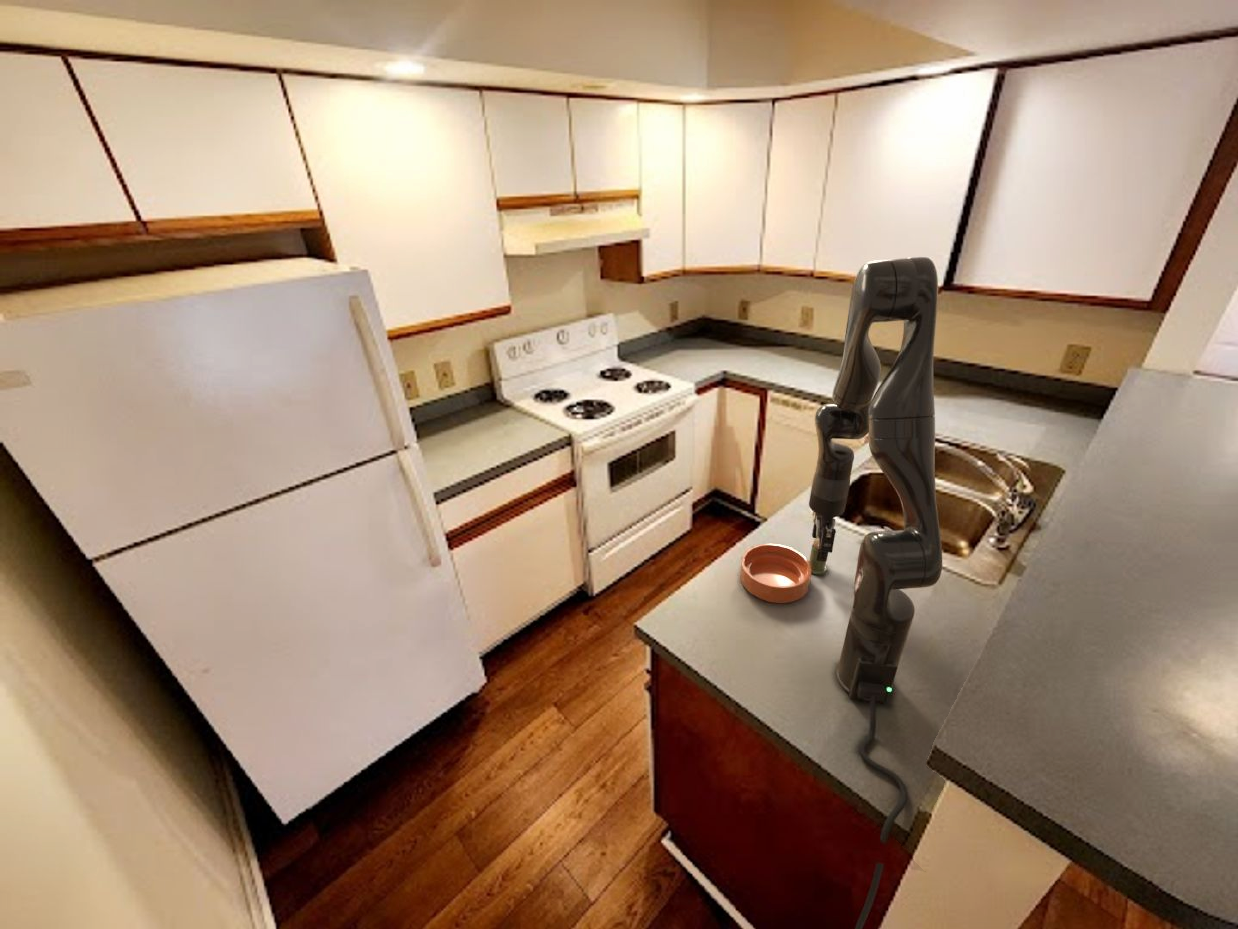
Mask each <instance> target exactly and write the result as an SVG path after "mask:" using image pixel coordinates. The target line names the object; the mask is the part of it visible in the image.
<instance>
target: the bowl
mask: <svg viewBox="0 0 1238 929" xmlns="http://www.w3.org/2000/svg"><path fill="white" fill-rule="evenodd" d="M809 561H810V560H808V558H807V557H806V556H805V555H803V554H802V553H801V552H800V551H798V550H796V549H794V548H793V547H790V546H787V545H783V544H778V543H763V544H756V545H754V546H751V547H750V548H748V549H747V550H746V551H745V552H744V553H743V555H742V556H741V563H740V581H741V584H742V586H743V588H745V589H746V590H747V591H748V592H749V593H750V594H751V595H753V596H754V597H756V598H758V599H759V600H763V601H765V602H768V603H775V604H776V603H777V604H786V603H787V604H788V603H793V602H795V601H798V600H801V599H802V598H803V597H804V596H805V595H806V594H807V593H808V590H809V588H810V584H811V578H812V570H811V565H810V563H809Z"/></svg>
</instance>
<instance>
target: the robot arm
mask: <svg viewBox="0 0 1238 929" xmlns="http://www.w3.org/2000/svg"><path fill="white" fill-rule="evenodd" d="M938 277H939V276H938V272H937V268H936V265H935V263H934V261H933V260H932V259H931V258H929V257H927V256H913V257H900V258H888V259H878V260H872V261H869V262H865V263H864V264H863V265H861V266H860V268H859V270H858V271H857V273H856V276H855V278H854V281H853V285H852V288H851V293H850V300H849V307H848V313H847V321H846V327H845V335H844V336H845V337H844V345H843V353H842V359H841V363H840V367H839V371H838V374H837V377H836V380H835V384H834V386H833V389H832V396H831V398H832V401H833V403H825V404H822V405H821V406H820V407H818V409H817V410H816V411H815V414H814V428H815V432H816V437H817V446H818V447H817V460H816V466H815V471H814V473H813V477H812V482H811V488H810V495H809V501H808V506H809V507H808V508H809V509H810V510H811V511H812V522H813V527H812V532H811V538H813V539H816V538H818V550H817V555H816V560H817V561H820V562H826V563H827V560H828V557H829V554H830V553H831V554H832V553H833V550H834V549H833V548H834V542H835V538H836V533H837V531H836V530H837V529H836V528H835V527H836V517H838V516H841V515H843V513H845V511H846V506H847V500H848V496H849V492H850V487H851V475H852V470H853V465H854V461H855V451H854V450H853V449H852V448H851V447H850V446H848V445H846V444H843V443H839V442H836V441H833V440H861V439H863V438H865V437H866V436H867V435H868V447H869V451H870V454H871V456H872V458H873V459H874V462H875V463H876V464H877V466H878V467H879V469H880V470H881V472H882V473H883V475H884V477H886V479H887V480H888V482H889V483H890V484H891V486H892V487H893V489H894V490H895V492H896V494H897V496H898V498H899V501H900V504H901V508H902V514H903V529H895V530H894V529H892V530H893V531H885V530H881V531H879V530H877V531H871V532H869V533H867V534H866V535H864V537H863V539H862V540H863V541H862V540H861V543H860V546H859V551H858V558H857V565H856V569H855V576H854V582H853V600H852V601H853V602H852V606H851V611H850V615H849V618H848V623H847V628H846V631H845V636H844V640H843V644H842V648H841V652H840V656H839V657H840V658H839V662H838V665H837V668H836V679H837V680H838V683H839V685H840V686H841V687H842V688H843V690H844V691H846V692H847V693H848V695H849V696H848V697H849V699H851V700H858V701H865V702H869V713H870V714H869V730H868V735H867V737H866V738H865V739H864V740H863V741H862V742H861V743H860V745H859V747H858V752H859V754H860V755H859V756H860V757H861V758H862V760H863V761H864V763H865V764H867V765H868V766H869V767H871V768H872V769H874V770H876V771H878V772H879V773H881V774H884V775H885V776H888V777H889V778H891V779H893V781H894V782H895V783H896V784H897V786H898V788H899V791H900V798H899V801H898V802H897V804H896V805H895V807H894V808H893V809H892V811H891V812H890V813H889V814H888V816H887V818H886V819H885V821H884V822H883V826H882V828H881V832H880V837H879V840H880V842H881V843H882V844H886V843H887V842H888V837H889V833H890V830H891V827H892V825H893V824H894V822H895V820H896V819H897V818H898V816H900V814H901V813H902V812H903V810H904V808H905V807H906V804H907V802H908V792H907V789H906V785H905V784H904V781H903V780H902V779H901V777H900V776H898V775H897V774H896V773H895V772H893V771H892V770H890V769H888V768H886V767H885V766H882V765H881V764H879V763H877V762H875V761H874V760H872V759H871V758H870V757H869V756H868V755H867V753H866V749H867V747H868V746H869V745H870V744H871V743H872V742H873V741H874V738H875V736H876V728H877V727H876V726H877V708H876V707H877V706H876V703H881V704H888V701H889V697H890V695H891V693H892V691H893V690H892V689H893V684H894V682H895V678H896V675H897V672H898V669H899V665H900V661H901V658H902V656H903V653H904V649H905V645H906V642H907V639H908V636H909V634H910V630H911V627H912V624H913V620H914V617H915V609H916V608H915V604H914V603H913V601H912V599H911V598H910V596H908V594H906V593H905V592H904V591H902V590H906V589H907V590H909V589H922V588H923V589H924V588H930V587H933V586H934V585H936V584H937V583H938V581H939V580H940V578H941V575H942V570H943V549H942V548H943V547H942V539H941V538H942V537H941V530H940V523H939V521H940V520H939V512H938V504H937V493H936V492H937V491H936V461H935V460H936V456H935V455H936V414H935V413H936V410H935V409H936V408H935V391H934V358H935V357H934V354H935V353H934V352H935V339H936V338H935V336H936V328H937V327H936V326H937V314H938V313H937V312H938V299H939V283H938V282H939V279H938ZM902 321H903V331H902V332H903V334H902V339H901V345H900V349H899V352H898V354H897V356H896V359H895V361H894V362H893V364H892V366H891V368H890V369H889V371H888V373H887V374H886V376H884V379H883V380H882V382H881V383H880V380H881V376H882V364H881V360H880V358H879V355H878V353H877V352H876V351H877V350H875V348H874V346H873V344H872V342H871V339H870V334H869V333H870V329H871V326H872V325H873V324H874V323H889V322H902ZM879 383H880V385H879ZM878 385H879V386H878ZM883 870H884V863H882V862H876V865H875V869H874V873H873V877H872V881H871V884H870V888H869V891H868V893H867V897H866V899H865V902H864V905H863V908H862V910H861V912H860V914H859V916H858V917H859V918H858V919H857V922H856V925H855V927H854V929H863V928H864V925H865V923H866V920H867V918H868V916H869V913H870V911H871V908H872V906H873V904H874V900H875V897H876V895H877V892H878V888H879V884H880V881H881V877H882V874H883Z"/></svg>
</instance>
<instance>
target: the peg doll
mask: <svg viewBox="0 0 1238 929" xmlns="http://www.w3.org/2000/svg"><path fill="white" fill-rule="evenodd" d="M817 550H818V538H814V540H813V543H812V544H811V550H810V555H809V560H808V561H809V563H810V565H811V570H812V573H811V575H812V574H813V575H816V576H821V575H824V574H826V573H827V565H826V563H827V561H826V562H820V561H817V560H816V555H817Z"/></svg>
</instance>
